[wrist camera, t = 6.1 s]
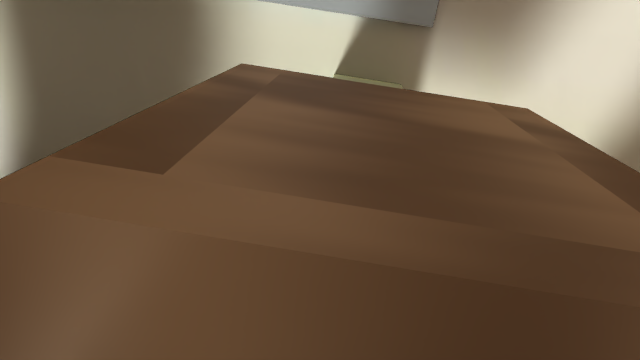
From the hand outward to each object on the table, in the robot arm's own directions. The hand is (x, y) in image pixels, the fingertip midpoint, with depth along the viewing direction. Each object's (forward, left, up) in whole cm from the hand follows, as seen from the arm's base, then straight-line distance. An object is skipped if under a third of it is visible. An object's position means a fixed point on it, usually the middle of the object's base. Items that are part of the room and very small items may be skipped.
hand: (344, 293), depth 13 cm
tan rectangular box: (0, 0, -1) cm, 1 cm away
